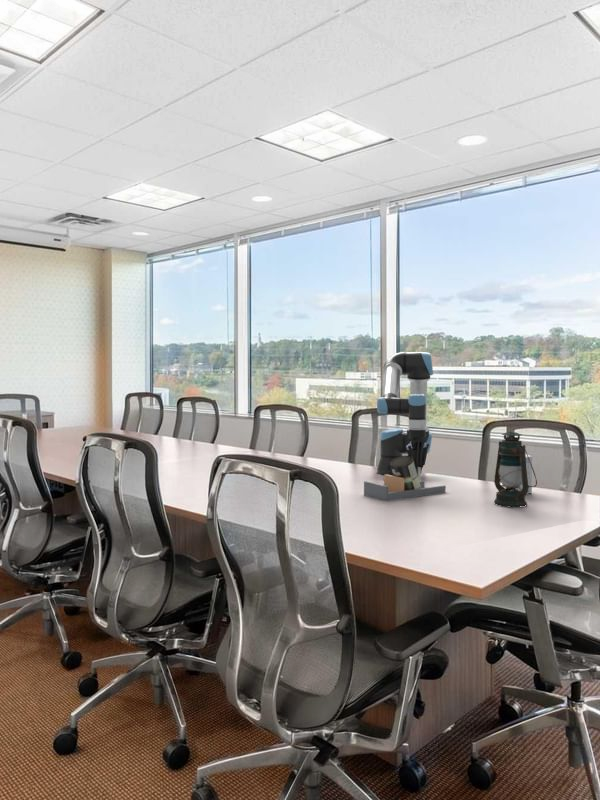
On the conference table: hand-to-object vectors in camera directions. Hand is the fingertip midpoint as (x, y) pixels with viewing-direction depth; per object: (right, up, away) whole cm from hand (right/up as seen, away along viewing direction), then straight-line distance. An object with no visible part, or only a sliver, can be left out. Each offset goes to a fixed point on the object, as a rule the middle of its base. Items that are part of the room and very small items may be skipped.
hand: (417, 481), depth 276 cm
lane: (-5, -5, -3) cm, 8 cm away
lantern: (+34, -6, -23) cm, 42 cm away
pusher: (-12, -5, -7) cm, 14 cm away
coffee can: (-4, -3, -2) cm, 5 cm away
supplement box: (+46, -5, +2) cm, 47 cm away
